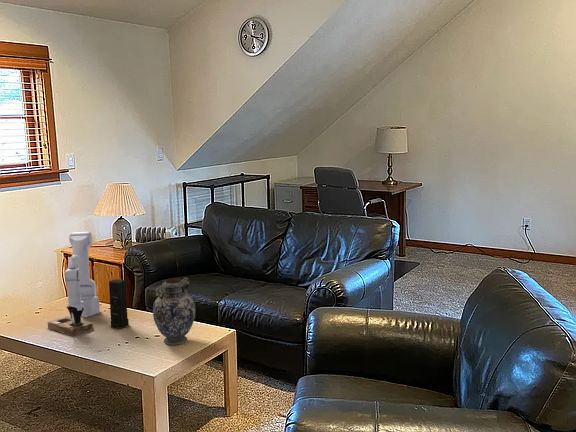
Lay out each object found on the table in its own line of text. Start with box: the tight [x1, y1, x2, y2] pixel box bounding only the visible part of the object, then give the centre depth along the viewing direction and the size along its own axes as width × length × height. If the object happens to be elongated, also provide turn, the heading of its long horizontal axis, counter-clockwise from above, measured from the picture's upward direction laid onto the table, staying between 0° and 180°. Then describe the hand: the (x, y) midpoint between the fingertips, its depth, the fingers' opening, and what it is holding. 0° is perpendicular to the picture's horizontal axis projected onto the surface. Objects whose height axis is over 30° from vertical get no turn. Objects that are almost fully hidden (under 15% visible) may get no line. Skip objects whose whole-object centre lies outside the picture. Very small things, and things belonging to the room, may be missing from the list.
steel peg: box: [72, 314, 82, 327], centre depth 269 cm, size 4×4×8 cm
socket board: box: [47, 315, 94, 337], centre depth 272 cm, size 11×20×3 cm, turn 55°
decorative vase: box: [152, 276, 196, 346], centre depth 252 cm, size 21×19×28 cm
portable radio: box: [108, 276, 129, 330], centre depth 273 cm, size 8×6×25 cm
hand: (76, 321), depth 269 cm, fingers closed on steel peg, 4 cm apart
